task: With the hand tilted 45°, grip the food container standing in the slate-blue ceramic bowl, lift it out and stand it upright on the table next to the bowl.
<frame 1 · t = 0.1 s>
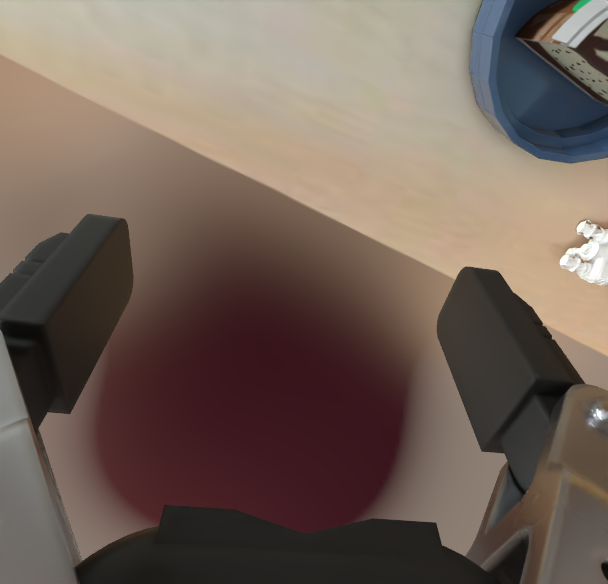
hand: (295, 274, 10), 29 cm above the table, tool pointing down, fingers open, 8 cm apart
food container: (586, 30, 32), resting on bowl
bowl: (584, 30, 32), on the table
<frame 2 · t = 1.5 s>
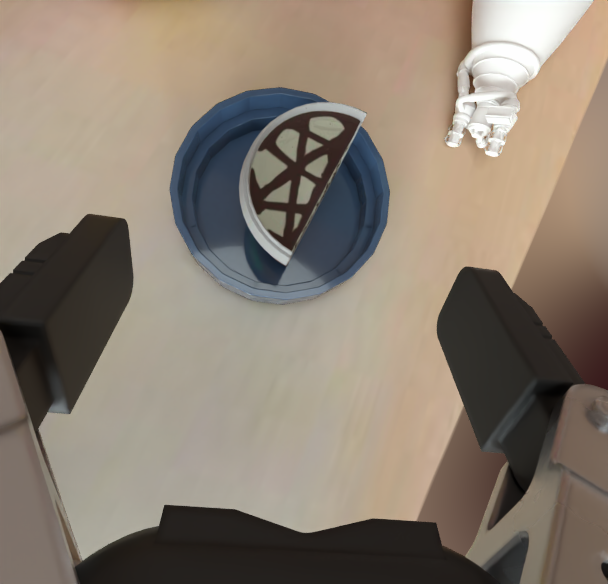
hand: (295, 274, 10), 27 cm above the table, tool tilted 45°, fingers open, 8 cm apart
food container: (279, 207, 38), resting on bowl
bowl: (279, 208, 38), on the table
rocket engine: (472, 70, 42), on the table
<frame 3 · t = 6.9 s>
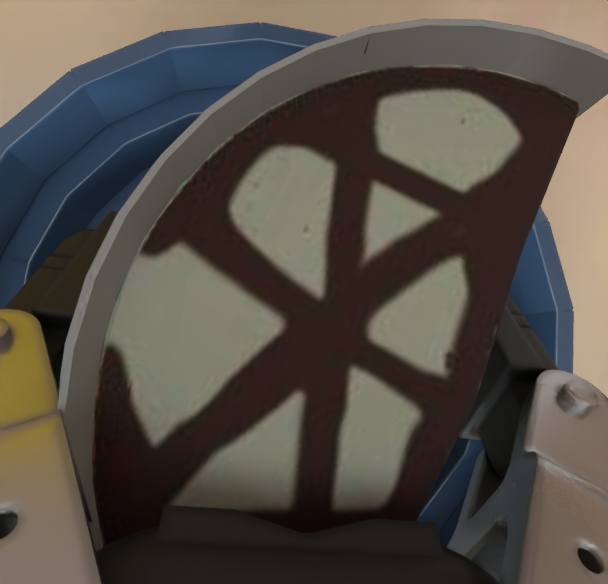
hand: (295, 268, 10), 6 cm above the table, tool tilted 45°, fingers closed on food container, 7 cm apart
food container: (267, 330, 15), resting on bowl, touching gripper
bowl: (267, 330, 15), on the table
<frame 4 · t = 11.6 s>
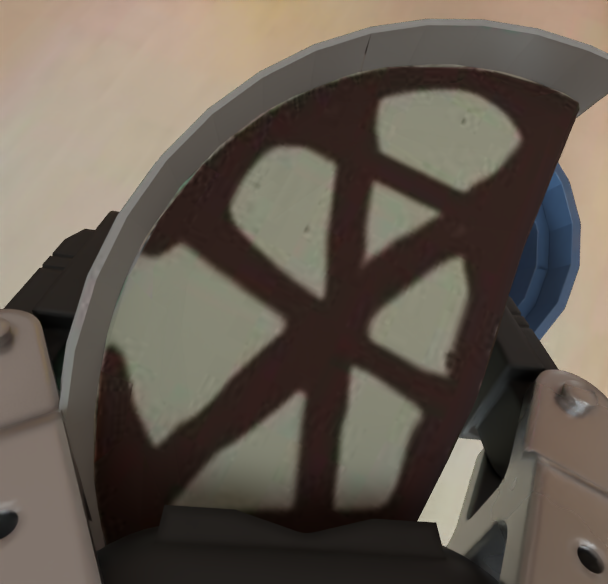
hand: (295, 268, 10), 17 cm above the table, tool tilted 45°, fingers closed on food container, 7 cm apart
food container: (268, 329, 15), point 12 cm above the table, touching gripper
bowl: (416, 242, 29), on the table
when the fingers open (5 cm above the table, at t = 16.4 s): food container stays where it is, on the table.
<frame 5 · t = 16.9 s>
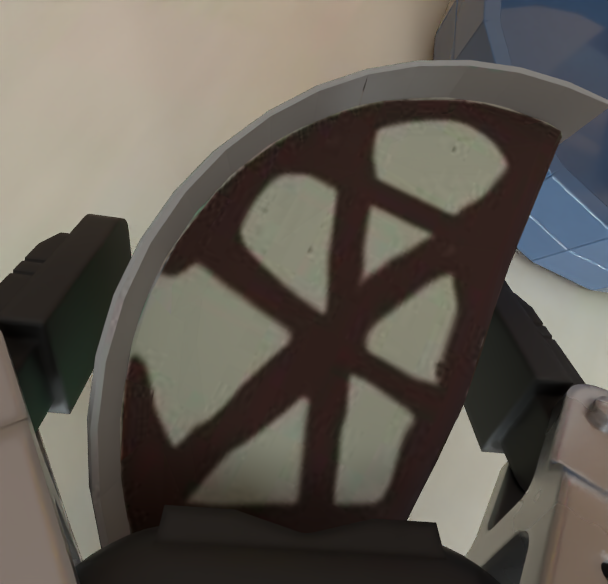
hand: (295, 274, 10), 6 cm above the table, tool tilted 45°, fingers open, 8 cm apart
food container: (273, 334, 16), on the table
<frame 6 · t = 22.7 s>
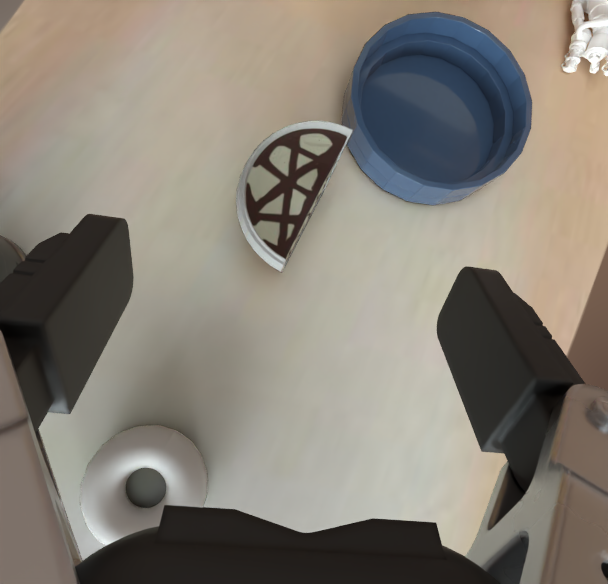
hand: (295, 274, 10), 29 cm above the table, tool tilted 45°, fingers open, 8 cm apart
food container: (275, 216, 40), on the table
donut: (151, 480, 36), on the table
bowl: (424, 123, 43), on the table
rocket engine: (580, 7, 47), on the table
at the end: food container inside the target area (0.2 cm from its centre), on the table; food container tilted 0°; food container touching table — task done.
